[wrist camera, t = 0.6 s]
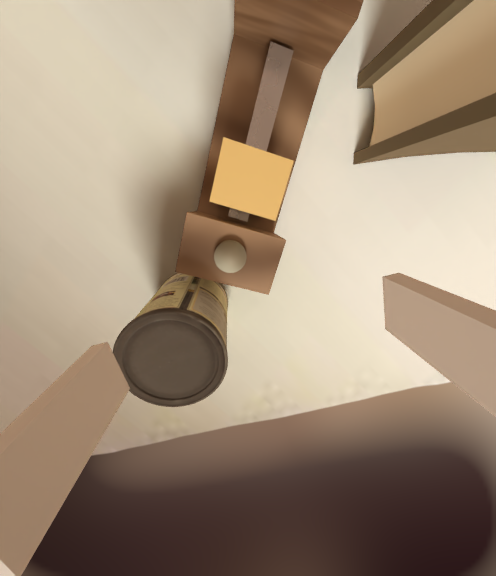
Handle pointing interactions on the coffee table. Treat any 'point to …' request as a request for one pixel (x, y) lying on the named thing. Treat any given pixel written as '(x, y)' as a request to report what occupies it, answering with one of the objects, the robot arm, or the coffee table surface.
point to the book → (435, 84)
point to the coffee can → (176, 343)
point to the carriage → (250, 179)
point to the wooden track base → (284, 138)
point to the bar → (267, 104)
